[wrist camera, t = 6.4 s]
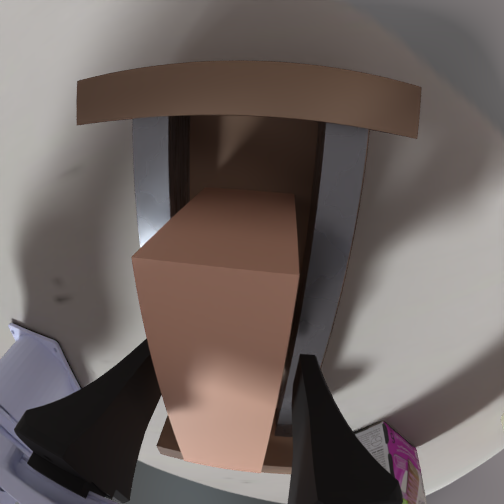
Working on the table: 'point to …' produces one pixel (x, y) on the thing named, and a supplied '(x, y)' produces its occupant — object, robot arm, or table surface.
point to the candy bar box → (395, 459)
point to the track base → (259, 169)
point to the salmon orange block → (221, 319)
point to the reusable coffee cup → (502, 421)
